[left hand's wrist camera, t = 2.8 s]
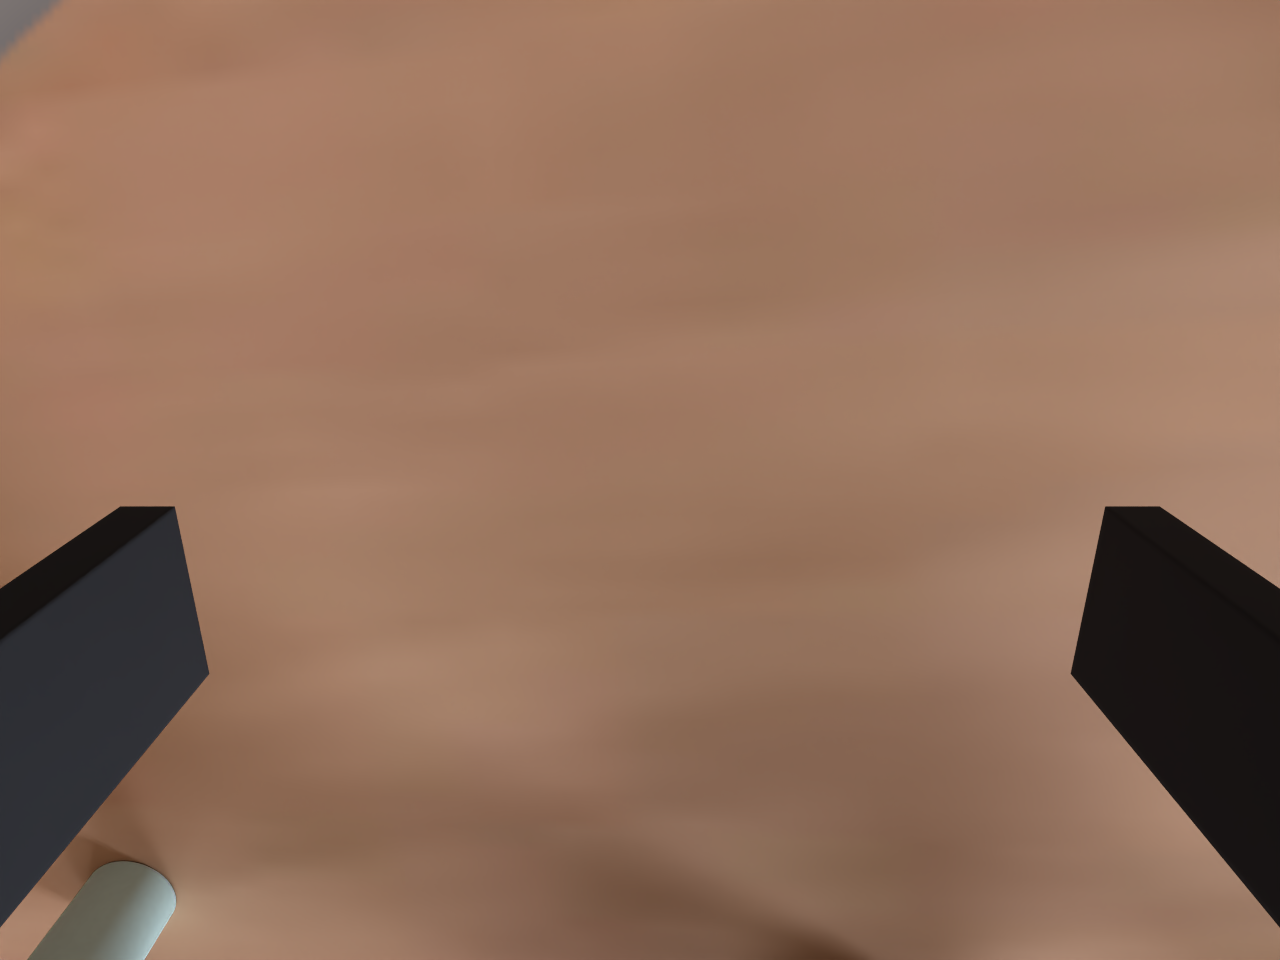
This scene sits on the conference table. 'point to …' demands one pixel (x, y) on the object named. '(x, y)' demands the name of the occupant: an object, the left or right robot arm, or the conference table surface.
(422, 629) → the conference table surface
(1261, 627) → the left robot arm
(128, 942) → the jar
